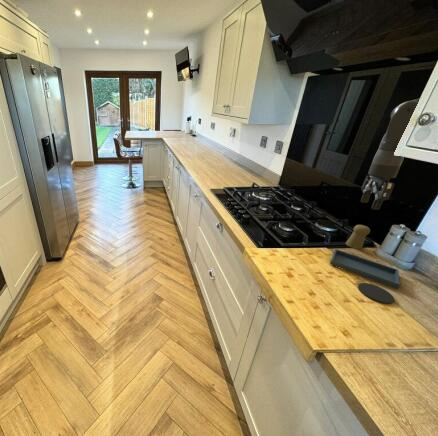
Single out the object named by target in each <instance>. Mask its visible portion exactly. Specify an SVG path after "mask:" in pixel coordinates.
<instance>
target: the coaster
mask: <svg viewBox="0 0 438 436" xmlns="http://www.w3.org/2000/svg"><path fill="white" fill-rule="evenodd" d="M357 289H358V291H359V292H360V293H361V294H362V295H363V296H365V297H366V298H368V299H370V300H372V301H374V302H376V303H379V304H383V305H392V304H393V303H394V302H395V297H394V296H393V295H392V294H391V293H390V292H389V291H387V290H386V289H385V288H382V287H380V286H378V285H376V284H374V283H370V282H360V283H359V284H358V285H357Z"/></svg>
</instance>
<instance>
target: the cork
mask: <svg viewBox="0 0 438 436" xmlns="http://www.w3.org/2000/svg"><path fill="white" fill-rule="evenodd" d="M370 232H371V229H370V227H368V226H366V225H363V224H356V225H355V226H353V232H352V233H351V234H350V236H349V237H348V239H347V241H346V242H345V245H346V246H348V247H350V248H352V249H354V250H363V247H364V244H365V240H366V236H368V235H369V234H370Z"/></svg>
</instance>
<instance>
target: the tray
mask: <svg viewBox="0 0 438 436" xmlns="http://www.w3.org/2000/svg"><path fill="white" fill-rule="evenodd" d="M330 264H332V265H331V266H333V265H334V266H333V267H335V266H337V267H336V268H338V267H340V268H339V269H341V268H343V269H342V270H344V269H345V270H344V271H346V270H348V271H347V272H349V271H350V272H349V273H352V272H353V273H352V274H354V273H355V274H354V275H358V276H360V277H363V278H365V279H369V280H371V281H374V282H376V283H379V284H381V285H385V286H387V287H391V288H393V289H395V290H398V288H399V287H400V285H401V283H400V282H401V281H400V273H399V269H398V268H395V267H392V266H388V265H385V264H383V263H380V262H376V261H373V260H371V259H367V258H364V257H361V256H359V255H355V254H353V253H349V252H346V251H343V250H340V249H338V248H335V249H334V251H333V253H332V255H331V259H330V262H329V265H330Z"/></svg>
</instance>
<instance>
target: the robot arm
mask: <svg viewBox="0 0 438 436" xmlns="http://www.w3.org/2000/svg"><path fill="white" fill-rule="evenodd" d="M420 98H421V97H418V98H416V99H413V100H407V101H404V102H402V103H400V104H398V105H396V107H394V109H392V111H391V113H390V121H389V124H388V126H387V129H386V132H385V133H384V135H383V137H382V139H381V140H380V143H379V146H378V149H377V151H376V153H375V155H374V157H373V159H372V161H371V165H370V167H369V170H368V173H367V175H366V176H365V179H364V181H363V183H362V186H361V191H362V193H363V194H362V196H361V199H360V203H363V204H368V203H369V202H370V198H371V196H372V193H373V194H374V200H373V202H372V205H371V207H370V209H371V210H375V211H379V210H380V209H381V206H382V205H383V202H384V201H389V200H390V198H391V195H392V192H393V191H394V187H395V183H394V182H390V180H391V179H395V178H396V177H397V175H398V173H399V171H400V168H401V166H402V163H403V162H404V158H405V156H404V157H400V156H394V152H395V150H396V148H397V145H398V143H399V141H400V139H401V137H402V135H403V133H404V131H405V129H406V127H407V125H408V123H409V121H410V118H411V116H412V114H413V112H414V110H415V108H416V106H417V104H418V102H419V99H420Z"/></svg>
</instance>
